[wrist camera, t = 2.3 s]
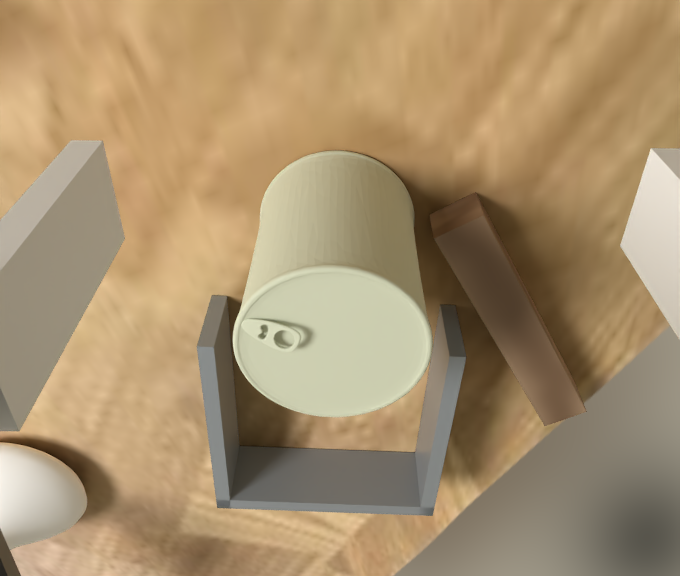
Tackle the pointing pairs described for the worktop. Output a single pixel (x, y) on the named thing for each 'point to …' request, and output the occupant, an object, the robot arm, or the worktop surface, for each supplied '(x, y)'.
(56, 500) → the flower in vase
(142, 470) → the worktop surface
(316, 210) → the can
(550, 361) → the bar
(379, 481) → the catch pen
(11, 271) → the robot arm
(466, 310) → the worktop surface
